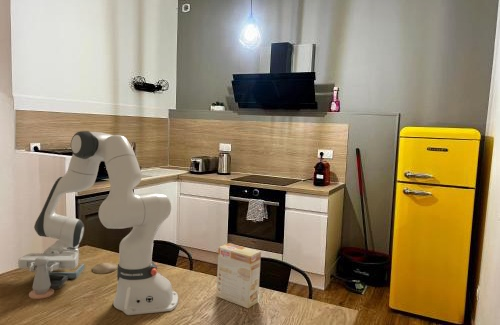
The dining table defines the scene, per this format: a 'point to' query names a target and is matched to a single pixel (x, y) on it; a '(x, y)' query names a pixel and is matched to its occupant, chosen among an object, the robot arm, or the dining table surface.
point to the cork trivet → (104, 268)
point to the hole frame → (57, 281)
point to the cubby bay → (70, 274)
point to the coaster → (37, 296)
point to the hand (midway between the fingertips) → (40, 269)
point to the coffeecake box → (238, 274)
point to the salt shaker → (41, 276)
